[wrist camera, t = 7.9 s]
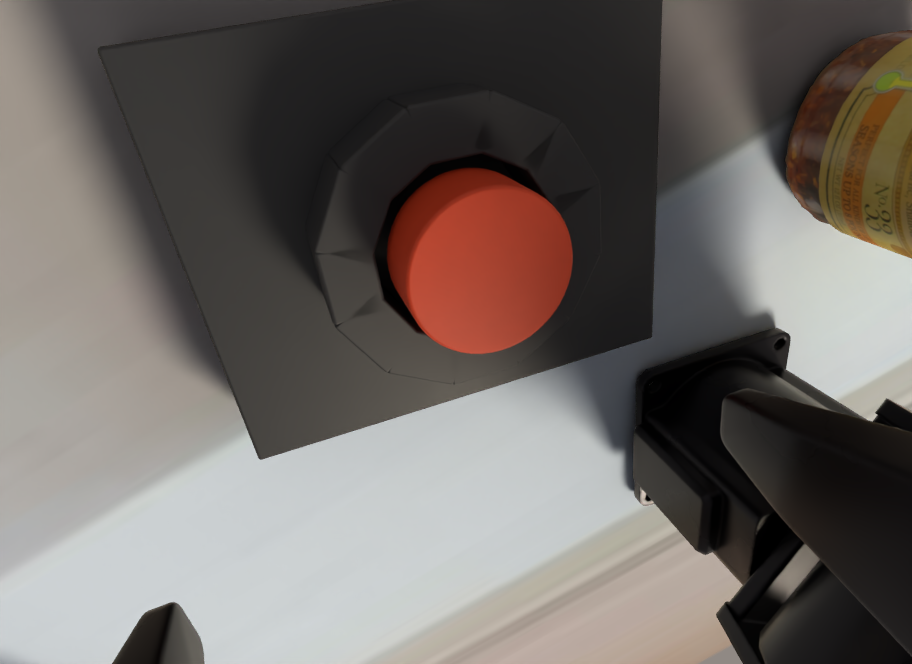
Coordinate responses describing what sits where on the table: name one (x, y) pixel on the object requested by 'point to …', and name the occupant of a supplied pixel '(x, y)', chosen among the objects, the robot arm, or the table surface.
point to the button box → (391, 187)
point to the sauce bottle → (859, 143)
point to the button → (479, 260)
